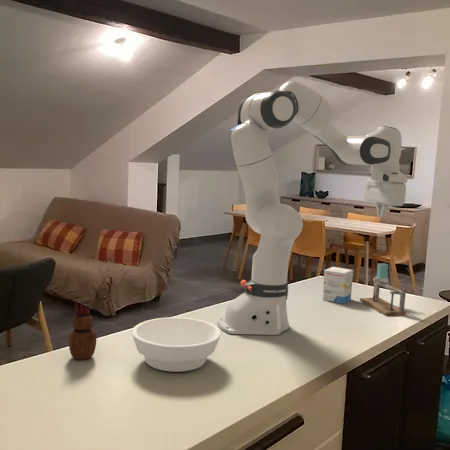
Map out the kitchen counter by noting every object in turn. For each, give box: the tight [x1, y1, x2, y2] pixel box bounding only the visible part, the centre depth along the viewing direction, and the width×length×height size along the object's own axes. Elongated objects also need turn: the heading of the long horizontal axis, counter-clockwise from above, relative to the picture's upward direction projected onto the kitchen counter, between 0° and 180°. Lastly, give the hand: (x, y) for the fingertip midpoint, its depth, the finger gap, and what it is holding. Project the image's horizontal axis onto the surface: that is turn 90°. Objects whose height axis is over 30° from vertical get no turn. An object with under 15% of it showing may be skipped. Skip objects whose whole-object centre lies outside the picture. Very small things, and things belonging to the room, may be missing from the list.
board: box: [359, 281, 407, 317], centre depth 196 cm, size 8×18×8 cm, turn 15°
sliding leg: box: [372, 262, 389, 299], centre depth 201 cm, size 5×3×13 cm, turn 105°
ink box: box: [322, 266, 354, 305], centre depth 204 cm, size 9×8×12 cm
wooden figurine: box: [68, 301, 97, 361], centre depth 137 cm, size 7×6×15 cm
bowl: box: [131, 316, 222, 373], centre depth 137 cm, size 22×22×8 cm
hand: (381, 216), depth 184 cm, fingers closed
